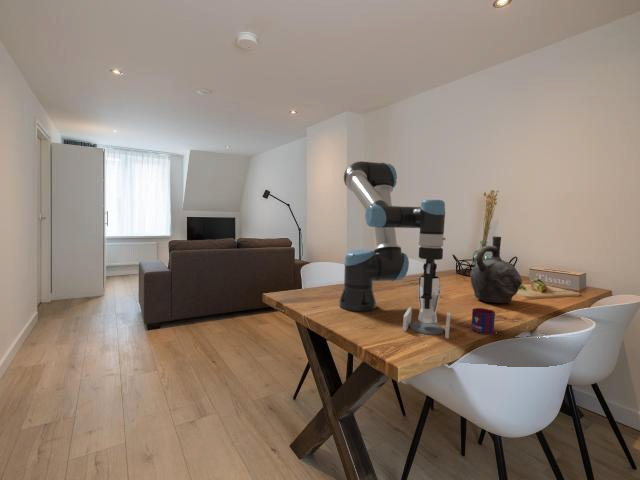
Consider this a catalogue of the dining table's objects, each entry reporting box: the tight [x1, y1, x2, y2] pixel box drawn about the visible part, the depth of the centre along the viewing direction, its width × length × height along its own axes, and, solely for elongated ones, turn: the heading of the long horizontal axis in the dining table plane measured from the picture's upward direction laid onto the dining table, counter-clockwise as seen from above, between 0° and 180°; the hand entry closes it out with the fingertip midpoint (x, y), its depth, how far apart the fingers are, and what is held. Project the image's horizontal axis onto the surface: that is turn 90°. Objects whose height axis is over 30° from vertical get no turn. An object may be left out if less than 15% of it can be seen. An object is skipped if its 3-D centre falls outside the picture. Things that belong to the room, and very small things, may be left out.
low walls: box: [402, 306, 452, 339], centre depth 108 cm, size 14×12×5 cm
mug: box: [471, 307, 496, 335], centre depth 108 cm, size 7×10×7 cm
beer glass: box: [417, 274, 441, 324], centre depth 107 cm, size 7×7×15 cm
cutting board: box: [514, 278, 581, 300], centre depth 170 cm, size 35×23×8 cm
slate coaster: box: [409, 321, 445, 336], centre depth 108 cm, size 11×11×1 cm
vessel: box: [469, 236, 523, 304], centre depth 146 cm, size 24×22×30 cm
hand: (427, 315), depth 107 cm, fingers closed on beer glass, 6 cm apart
